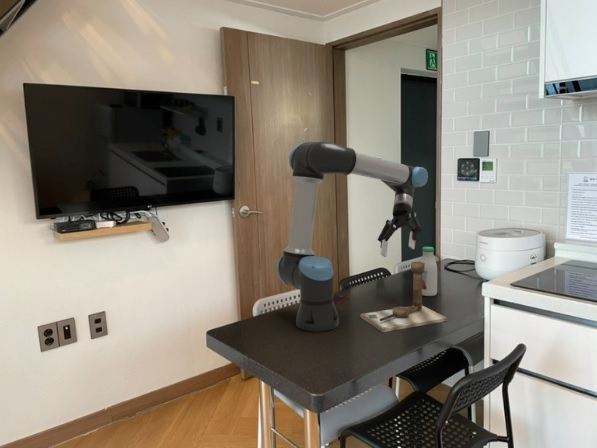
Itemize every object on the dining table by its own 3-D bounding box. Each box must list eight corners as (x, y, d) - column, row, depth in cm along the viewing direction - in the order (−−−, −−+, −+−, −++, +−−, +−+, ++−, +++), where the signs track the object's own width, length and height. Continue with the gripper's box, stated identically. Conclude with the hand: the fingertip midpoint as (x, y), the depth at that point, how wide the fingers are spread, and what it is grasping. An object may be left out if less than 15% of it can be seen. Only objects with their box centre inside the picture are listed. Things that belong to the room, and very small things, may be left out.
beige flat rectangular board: (382, 332, 154) (382, 327, 153) (360, 317, 169) (360, 313, 168) (447, 321, 162) (447, 316, 162) (420, 307, 177) (420, 303, 177)
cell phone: (312, 304, 186) (312, 302, 186) (334, 296, 196) (334, 293, 196) (327, 308, 181) (327, 306, 180) (349, 299, 191) (349, 297, 191)
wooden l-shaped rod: (386, 324, 156) (386, 275, 153) (374, 319, 160) (374, 272, 158) (427, 308, 170) (428, 263, 168) (415, 304, 175) (415, 261, 172)
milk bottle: (435, 291, 198) (435, 245, 195) (438, 296, 190) (439, 249, 187) (416, 291, 199) (417, 245, 196) (419, 296, 191) (420, 249, 188)
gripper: (433, 203, 183) (430, 248, 172) (384, 219, 200) (378, 262, 189) (422, 193, 179) (418, 239, 168) (373, 211, 197) (366, 254, 186)
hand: (397, 251), depth 179 cm, fingers open, 13 cm apart
